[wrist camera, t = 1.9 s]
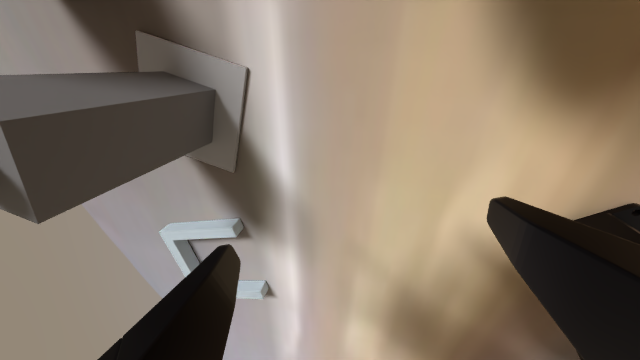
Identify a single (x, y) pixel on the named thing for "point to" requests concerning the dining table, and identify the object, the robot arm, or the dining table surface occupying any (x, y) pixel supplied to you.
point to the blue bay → (181, 232)
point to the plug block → (92, 134)
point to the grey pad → (208, 73)
